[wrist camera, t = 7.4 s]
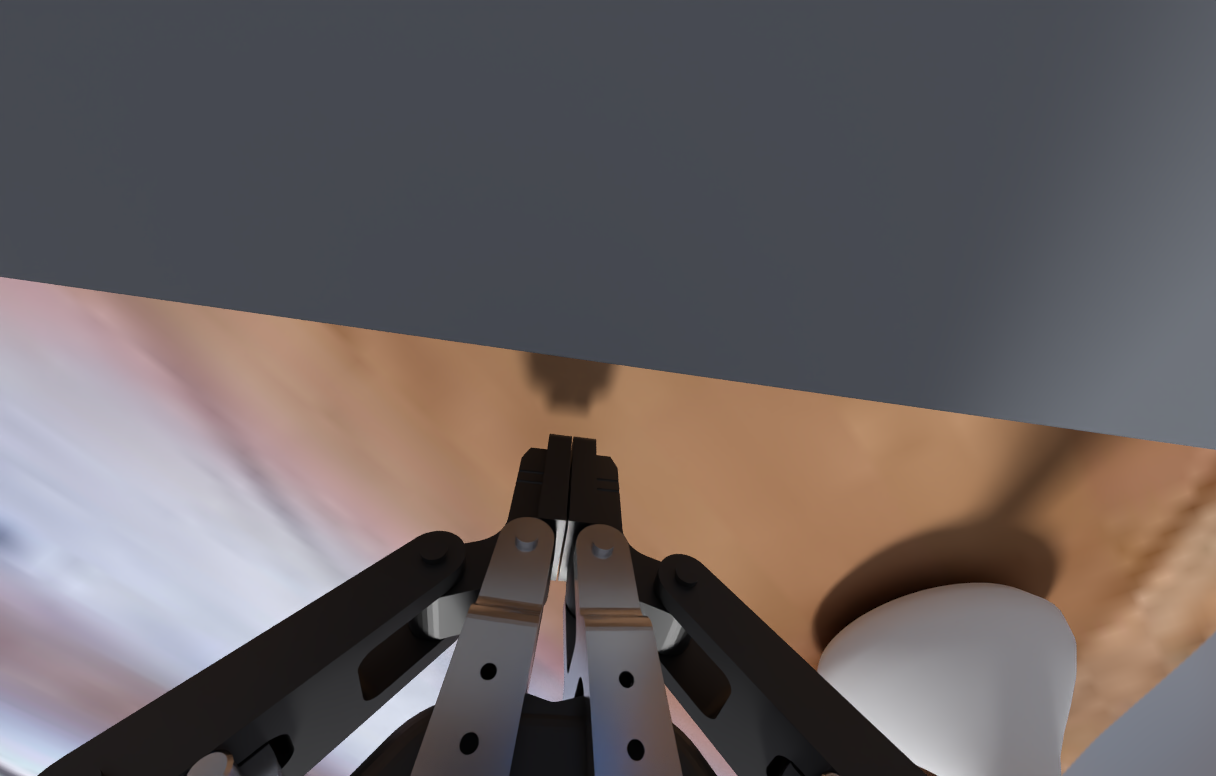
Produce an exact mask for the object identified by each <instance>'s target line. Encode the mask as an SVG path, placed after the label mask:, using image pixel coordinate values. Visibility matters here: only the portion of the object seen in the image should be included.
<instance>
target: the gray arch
mask: <svg viewBox="0 0 1216 776" xmlns="http://www.w3.org/2000/svg"><path fill="white" fill-rule="evenodd" d="M0 277H6V278H13V279H20V280H27V281H34V282H41V283H48V284H55V285H62V286H69V287H76V288H83V289H90V290H97V291H104V292H111V293H118V294H125V295H132V296H139V297H146V298H153V299H160V300H167V301H174V302H181V303H188V304H195V305H202V306H210V307H217V308H224V309H231V310H238V311H245V312H252V313H259V314H266V315H273V316H280V317H287V318H294V319H301V320H308V321H315V322H322V323H329V324H336V325H343V326H350V327H357V328H364V329H371V330H378V331H385V332H392V333H399V334H406V335H413V336H420V337H427V338H434V339H441V340H448V341H455V342H463V343H470V344H477V345H484V346H491V347H498V348H505V349H512V350H519V351H526V352H533V353H540V354H547V355H554V356H561V357H568V358H575V359H582V360H589V361H596V362H603V363H610V364H617V365H624V366H631V367H638V368H645V369H652V370H659V371H666V372H673V373H680V374H687V375H694V376H701V377H708V378H715V379H723V380H730V381H737V382H744V383H751V384H758V385H765V386H772V387H779V388H786V389H793V390H800V391H807V392H814V393H821V394H828V395H835V396H842V397H849V398H856V399H863V400H870V401H877V402H884V403H891V404H898V405H905V406H912V407H919V408H926V409H933V410H940V411H947V412H954V413H961V414H968V415H975V416H983V417H990V418H997V419H1004V420H1011V421H1018V422H1025V423H1032V424H1039V425H1046V426H1053V427H1060V428H1067V429H1074V430H1081V431H1088V432H1095V433H1102V434H1109V435H1116V436H1123V437H1130V438H1137V439H1144V440H1151V441H1158V442H1165V443H1172V444H1179V445H1186V446H1193V447H1200V448H1207V449H1214V450H1216V0H0Z"/></svg>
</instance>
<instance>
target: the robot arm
mask: <svg viewBox="0 0 1216 776" xmlns="http://www.w3.org/2000/svg"><path fill="white" fill-rule="evenodd" d="M571 444H572V448H571ZM559 559H560V564H559ZM558 565H559V577H558V581H566V595H565V600H564V606H563V640H564V692H563V701H559V702H550V701H547V700H544V699H542V698H539V697H536V696H533V695H530V694H528V689H529V684H530V678H531V673H532V667H533V662H534V656H535V651H536V646H537V640H538V635H539V630H540V624H541V619H542V613H543V608H544V605H545V603H546V601H547V598H548V592H549V586H550V580H554V581H556V576H557V571H558ZM458 637H459V638H458ZM457 639H458V641H457V644H456V647H455V650H454V653H453V655H452V658H451V661H450V664H449V667H448V670H447V673H446V676H445V678H444V681H443V684H442V687H441V690H440V693H439V696H438V698H437V701H436V704H435V705H433V706H431V707H429V708H427V709H425V710H424V711H422V712H420V713H418V714H417V715H415V716H414V717H412V718H411V719H409V720H408V721H406V722H405V723H404V724H403V725H401V726H400V727H399V728H398V729H396V730H395V731H394V732H393V733H392V734H391V735H390V736H389V737H388V738H387V739H386V740H385V741H384V742H383V743H382V744H381V745H380V746H379V747H378V748H377V749H376V750H375V751H374V752H373V753H372V754H371V755H370V756H369V757H368V758H367V759H366V760H365V761H364V762H363V763H362V764H361V765H360V766H359V767H358V768H357V769H356V770H355V771H354V772H353V773H352V774H351V775H350V776H717V775H716V774H715V772H714V771H713V769H712V768H711V767H710V765H709V764H708V762H707V761H706V760H705V758H704V757H703V756H702V754H701V753H700V751H699V750H698V749H697V748H696V746H695V745H694V744H693V742H692V741H691V740H690V739H689V738H688V737H687V736H686V735H685V734H684V733H683V732H682V731H681V730H680V729H679V728H678V727H677V726H676V725H674V724H673V723H672V720H671V715H670V710H669V705H668V700H667V695H666V690H665V685H666V686H667V688H668V689H669V690H670V691H671V693H672V694H673V695H674V696H675V698H676V699H677V700H678V701H679V703H680V704H681V705H682V706H683V708H684V709H685V710H686V711H687V713H688V714H689V715H690V716H691V718H692V719H693V720H694V722H695V723H696V724H697V725H698V727H699V728H700V729H701V730H702V732H703V733H704V734H705V735H706V737H707V738H708V739H709V740H710V742H711V743H712V744H713V745H714V747H715V748H716V749H717V750H718V752H719V753H720V754H721V755H722V757H723V758H724V759H725V760H726V762H727V763H728V764H729V765H730V767H731V768H732V769H733V770H734V772H735V773H736V774H737V775H738V776H927V775H926V774H925V773H924V772H923V771H922V770H921V769H920V768H919V767H918V766H916V765H915V764H914V763H913V762H912V761H911V760H910V759H909V758H908V757H907V756H906V755H905V754H904V753H903V752H902V751H901V750H899V749H898V748H897V747H896V746H895V745H894V744H893V743H892V742H891V741H890V740H889V739H888V738H887V737H886V736H885V735H884V734H882V733H881V732H880V731H879V730H878V729H877V728H876V727H875V726H874V725H873V724H872V723H871V722H870V721H869V720H868V719H867V718H865V717H864V716H863V715H862V714H861V713H860V712H859V711H858V710H857V709H856V708H855V707H854V706H853V705H852V704H851V703H850V702H849V701H847V700H846V699H845V698H844V697H843V696H842V695H841V694H840V693H839V692H838V691H837V690H836V689H835V688H834V687H833V686H832V685H830V684H829V683H828V682H827V681H826V680H825V679H824V678H823V677H822V676H821V675H820V674H819V673H818V672H817V671H816V670H815V669H813V668H812V667H811V666H810V665H809V664H808V663H807V662H806V661H805V660H804V659H803V658H802V657H801V656H800V655H799V654H798V653H796V652H795V651H794V650H793V649H792V648H791V647H790V646H789V645H788V644H787V643H786V642H785V641H784V640H783V639H782V638H781V637H779V636H778V635H777V634H776V633H775V632H774V631H773V630H772V629H771V628H770V627H769V626H768V625H767V624H766V623H765V622H764V621H762V620H761V619H760V618H759V617H758V616H757V615H756V614H755V613H754V612H753V611H752V610H751V609H750V608H749V607H748V606H747V605H745V604H744V603H743V602H742V601H741V600H740V599H739V598H738V597H737V596H736V595H735V594H734V593H733V592H732V591H731V590H730V589H728V588H727V587H726V586H725V585H724V584H723V583H722V582H721V581H720V580H719V579H718V578H717V577H716V576H715V575H714V574H713V573H711V572H710V571H709V570H708V569H707V568H706V567H705V566H704V565H703V564H702V563H701V562H699V561H698V560H696V559H695V558H693V557H690V556H687V555H683V554H673V555H670V556H668V557H666V558H665V559H663V560H662V562H660V561H658V560H655V559H653V558H650V557H647V556H645V555H643V554H641V553H639V552H638V551H636V550H635V549H634V548H632V547H631V546H630V545H629V543H628V541H627V539H626V538H625V536H624V534H623V530H622V519H621V506H620V493H619V483H618V468H617V467H616V465H615V463H614V462H613V460H612V459H611V457H608V456H599V455H596V439H589V438H581V437H573V442H572V436H564V435H556V434H550V435H549V442H548V449H539V448H530V449H529V450H528V451H527V452H526V453H525V454H524V456H523V457H522V459H521V463H520V468H519V472H518V477H517V482H516V486H515V490H514V494H513V499H512V503H511V508H510V512H509V517H508V520H507V523H506V524H505V526H504V527H503V528H502V530H501V531H499V532H498V533H497V534H495V535H494V536H492V537H490V538H487V539H485V540H481V541H476V542H470V543H465V544H464V543H463V541H462V540H461V539H460V537H458V536H457V535H455V534H453V533H450V532H446V531H433V532H429V533H425V534H423V535H421V536H419V537H417V538H415V539H414V540H412V541H410V542H409V543H407V544H405V545H404V546H402V547H401V548H399V549H397V550H396V551H394V552H393V553H391V554H389V555H388V556H386V557H385V558H383V559H381V560H380V561H378V562H376V563H375V564H373V565H372V566H370V567H368V568H367V569H365V570H364V571H362V572H360V573H359V574H357V575H356V576H354V577H352V578H351V579H349V580H347V581H346V582H344V583H343V584H341V585H339V586H338V587H336V588H335V589H333V590H331V591H330V592H328V593H326V594H325V595H323V596H322V597H320V598H318V599H317V600H315V601H314V602H312V603H310V604H309V605H307V606H306V607H304V608H302V609H301V610H299V611H297V612H296V613H294V614H293V615H291V616H289V617H288V618H286V619H285V620H283V621H281V622H280V623H278V624H277V625H275V626H273V627H272V628H270V629H268V630H267V631H265V632H264V633H262V634H260V635H259V636H257V637H256V638H254V639H252V640H251V641H249V642H247V643H246V644H244V645H243V646H241V647H239V648H238V649H236V650H235V651H233V652H231V653H230V654H228V655H227V656H225V657H223V658H222V659H220V660H218V661H217V662H215V663H214V664H212V665H210V666H209V667H207V668H206V669H204V670H202V671H201V672H199V673H198V674H196V675H194V676H193V677H191V678H189V679H188V680H186V681H185V682H183V683H181V684H180V685H178V686H177V687H175V688H173V689H172V690H170V691H169V692H167V693H165V694H164V695H162V696H160V697H159V698H157V699H156V700H154V701H152V702H151V703H149V704H148V705H146V706H144V707H143V708H141V709H139V710H138V711H136V712H135V713H133V714H131V715H130V716H128V717H127V718H125V719H123V720H122V721H120V722H119V723H117V724H115V725H114V726H112V727H110V728H109V729H107V730H106V731H104V732H102V733H101V734H99V735H98V736H96V737H94V738H93V739H91V740H90V741H88V742H86V743H85V744H83V745H81V746H80V747H78V748H77V749H75V750H73V751H72V752H70V753H69V754H67V755H65V756H64V757H62V758H61V759H59V760H58V761H56V762H55V763H53V764H52V765H50V766H49V767H48V768H46V769H45V770H44V771H43V772H41V773H40V774H39V775H38V776H304V775H305V774H306V773H307V772H308V771H310V770H311V769H312V768H313V767H314V766H315V765H316V764H317V763H319V762H320V761H321V760H322V759H323V758H324V757H325V756H326V755H328V754H329V753H330V752H331V751H332V750H333V749H334V748H336V747H337V746H338V745H339V744H340V743H341V742H342V741H343V740H345V739H346V738H347V737H348V736H349V735H350V734H351V733H352V732H354V731H355V730H356V729H357V728H358V727H359V726H360V725H361V724H363V723H364V722H365V721H366V720H367V719H368V718H369V717H371V716H372V715H373V714H374V713H375V712H376V711H377V710H378V709H380V708H381V707H382V706H383V705H384V704H385V703H386V702H387V701H389V700H390V699H391V698H392V697H393V696H394V695H395V694H396V693H398V692H399V691H400V690H401V689H402V688H403V687H404V686H406V685H407V684H408V683H409V682H410V681H411V680H412V679H413V678H415V677H416V676H417V675H418V674H419V673H420V672H421V671H422V670H424V669H425V668H426V667H427V666H428V665H429V664H430V663H431V662H433V661H434V660H435V659H436V658H437V657H438V656H439V655H441V654H442V653H443V652H444V651H445V650H446V649H447V648H448V647H450V646H451V645H452V644H453V643H454V642H455V641H456V640H457ZM664 684H665V685H664Z"/></svg>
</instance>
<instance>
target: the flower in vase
mask: <svg viewBox="0 0 1216 776" xmlns="http://www.w3.org/2000/svg"><path fill="white" fill-rule="evenodd" d="M817 672H818V673H819V674H820V675H821V676H822V677H823V678H824V679H825V680H826V681H827V682H828V683H829V684H830V685H832V686H833V687H834V688H835V689H836V690H837V691H838V692H839V693H840V694H841V695H842V696H843V697H844V698H845V699H846V700H847V701H849V702H850V703H851V704H852V705H853V706H854V707H855V708H856V709H857V710H858V711H859V712H860V713H861V714H862V715H863V716H864V717H865V718H867V719H868V720H869V721H870V722H871V723H872V724H873V725H874V726H875V727H876V728H877V729H878V730H879V731H880V732H881V733H882V734H884V735H885V736H886V737H887V738H888V739H889V740H890V741H891V742H892V743H893V744H894V745H895V746H896V747H897V748H898V749H899V750H901V751H902V752H903V753H904V754H905V755H906V756H907V757H908V758H909V759H910V760H911V761H912V762H913V763H914V764H915V765H917V766H919V767H922V768H924V769H926V770H928V771H930V772H932V773H934V774H936V775H937V776H1061V762H1060V755H1061V749H1062V742H1063V735H1064V731H1065V727H1066V723H1067V719H1068V714H1069V710H1070V706H1071V701H1072V696H1073V690H1074V685H1075V680H1076V641H1075V637H1074V635H1073V633H1072V631H1071V629H1070V627H1069V625H1068V623H1067V621H1066V619H1065V617H1064V616H1063V614H1062V612H1061V611H1060V610H1059V609H1058V608H1057V607H1056V606H1055V605H1054V604H1052V603H1051V602H1049V601H1047V600H1046V599H1044V598H1041V597H1039V596H1036V595H1033V594H1031V593H1028V592H1026V591H1023V590H1020V589H1018V588H1015V587H1011V586H1007V585H1002V584H994V583H962V584H953V585H946V586H939V587H935V588H930V589H926V590H922V591H918V592H915V593H912V594H909V595H905V596H903V597H900V598H898V599H895V600H892V601H890V602H888V603H885V604H883V605H881V606H879V607H877V608H875V609H873V610H871V611H869V612H867V613H866V614H864V615H862V616H860V617H859V618H857V619H856V620H854V621H853V622H852V623H850V624H849V625H848V626H846V627H845V628H844V629H843V630H841V631H840V632H839V633H838V634H837V635H836V636H835V637H834V638H833V639H832V640H831V641H830V643H829V644H828V645H827V647H826V648H825V650H824V651H823V653H822V655H821V657H820V661H819V664H818V670H817Z"/></svg>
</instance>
